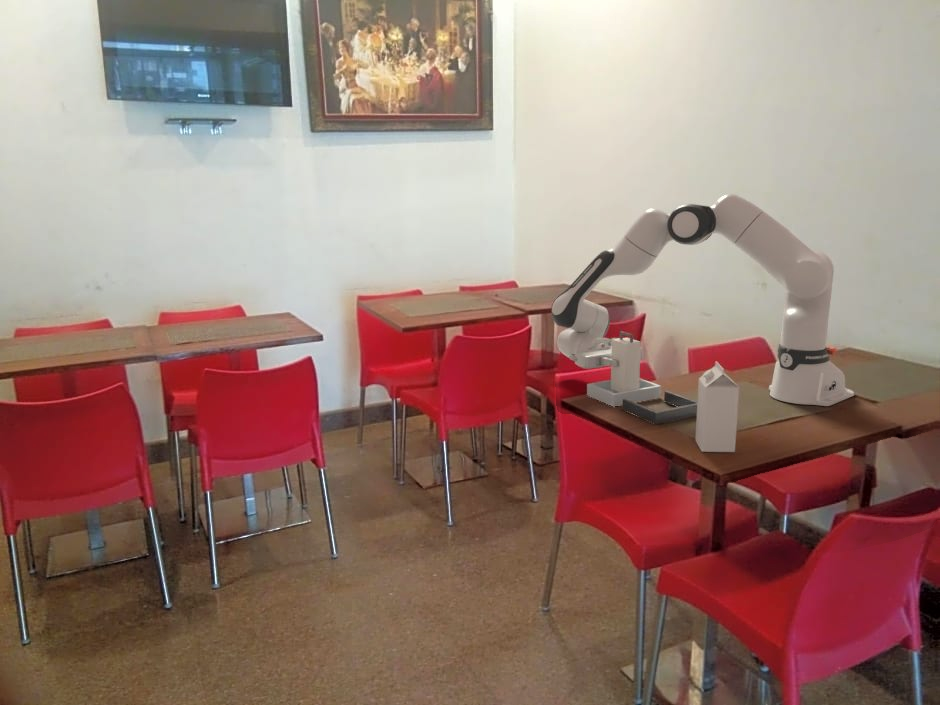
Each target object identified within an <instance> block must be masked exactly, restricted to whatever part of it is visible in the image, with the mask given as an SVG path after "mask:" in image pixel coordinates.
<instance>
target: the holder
mask: <svg viewBox="0 0 940 705" xmlns="http://www.w3.org/2000/svg"><path fill="white" fill-rule="evenodd" d="M663 398H664V399H663V402H664V401H666V402H669V403H671V404H674V405H676V406H678V407H676V406H674V407H671V408H666V409H663V410H661V409H660V410H654V409H652V408H649V407H647V406H645V405H643V404H640V403H635V402H632V401H630V400H628V399H623V403H622V406H621V407H622V409H623V410H625V411H628V412H630V413H633V414H635V415H637V416H639V417H641V418H643V419H646V420H648V421H650V422H652V423H651V424H653V423H654V424H653V425H655V424H657V425H661V423H662V424H666V423H671V422H675V421H679V419H680V420H683V419H684V418H685V419H689V418H694V417H697V402H698V400H694V399H691V398H690V397H685V396H683V395H680V394H677V393H675V392H672V391H669V390H664V397H663ZM666 402H665V403H666ZM671 404H670V405H671ZM622 409H621V410H622ZM623 410H622V411H623ZM625 411H624V412H625ZM630 413H629V414H630ZM637 416H636V417H637ZM693 416H694V417H693ZM639 417H638V418H639ZM688 417H689V418H688ZM641 418H640V419H641ZM643 419H642V420H643ZM646 420H645V421H646ZM674 420H675V421H674ZM648 421H647V422H648ZM670 421H671V422H670ZM650 422H649V423H650Z"/></svg>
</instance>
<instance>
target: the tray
mask: <svg viewBox="0 0 940 705" xmlns="http://www.w3.org/2000/svg"><path fill="white" fill-rule="evenodd" d="M587 395H588V396H590V397H589V398H591V397H593V398H595V399H597V400H600V401H602V402H604V403H606V404H605V405H607V404H608V405H607V406H609V405H611V406H613V407H612V408H616V407H615V406H619V405H622V403H623V399H628V400H630V401H632V402H638V401H643V400H649V399H654V398H660V397H661V398H662V385H660V384H657V383H656V382H655V383H654V382H652V381H648V380H646V379H643V378H641V377H640V379H639V389H635V390H630V391H625V392H617V391H615V390H612V389H611V379H608V380H602V381H597V382H595V381H594V382H591V383H587V384H586V396H587ZM588 396H587V397H588ZM593 398H592V399H593ZM661 398H660V399H661ZM595 399H594V400H595ZM597 400H596V401H597ZM600 401H599V402H600ZM649 401H650V400H649ZM602 402H601V403H602ZM604 403H603V404H604ZM611 406H610V407H611ZM619 407H620V406H619Z"/></svg>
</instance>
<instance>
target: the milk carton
mask: <svg viewBox="0 0 940 705" xmlns="http://www.w3.org/2000/svg"><path fill="white" fill-rule="evenodd" d="M697 384H698V387H697V388H698V389H697V416H696V423H695V425H696V426H695V443H696V444H697V446H698V448H699V449H700V451H701V452H702V453H704V452H705V453H735V452H736V443H737V442H736V440H737V429H738V428H737V427H738V411H739V409H738V408H739V397H740V387H739V385H738V384H737V383H736V382H735V381H734V380H733V379H732V377H731V376H729V375H728V374H726V372H725V369H724V367H723V366H721V364H720V363H719V362H718V361H717V360H716V361H715V362H714V365H713V367H711V368H710V369H708V370H706V371H704V372H703V374H702V375H701V376H700V377H699V378H698V383H697Z"/></svg>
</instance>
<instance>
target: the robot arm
mask: <svg viewBox="0 0 940 705" xmlns="http://www.w3.org/2000/svg"><path fill="white" fill-rule="evenodd" d="M713 234H719V235H721V236H723V237H724V238H725V239H727V240H728V241H730V242H731V243H732V244H734V245H735V246H736V247H737V248H739V249H740V250H741V251H742V252H744V254H746V255H747V256H748V257H750V258H751V259H752V260H754V261H755V262H756V263H758V264H759V265H760V266H761V267H762V269H764V270H765V271H766V272H767V273H768V274H770V276H771V277H772V278H773V279H775V280H776V281H777V283H779V284H780V286H782V287H784V288H785V297H784V304H783V312H782V318H781V319H782V320H781V332H780V333H781V334H780V343H779V344H778V348H777V358H778V360H777V361H776V362H775V364H774V371H773V376H772V380H771V381H772V382H771V384H769V386H768V391H770V392H769V396H770V397H772V398H773V399H775V400H778V401H781V402H783V403H784V402H786V403H791V404H796V405H814V406H821V407H822V406H823V407H829V406H832V405H834V404H837V403H839V402H842V401H844V400H847V399H849V398H851V397H854V396H855V392H854V391H853V390H852V389H849V388H847V387H846V377H845V376H846V375H845V374H844V372H843V370H841V369H840V368H838V366H836V365H835V364H834V363H833V362H832V361H830V359H831V358H830V355H832V356H835V355H836V354H837V351H838V349H837V348H836V347H831V346H828V347H827V340H828V339H827V338H828V337H827V336H828V326H829V317H830V309H831V308H830V307H831V300H832V299H831V298H832V291H833V290H832V289H833V281H834V280H833V279H834V264H833V261H832V259H830V257H829V256H828V255H827V254H826V253H824V252H823V251H819V250H815V249H814V250H813V249H811V248H810V247H809V246H807V245H806V244H805V243H804V242H803V241H801V240H800V239H799V238H798V237H797V236H796V235H794V234H793V233H792V232H791V231H790V230H789V229H788V228H787V227H785V226H784V225H783V224H782V223H780V222H779V221H777V220H776V219H775V218H773V217H772V216H771V215H769V214H768V213H767V212H766V211H764V210H763V209H761V208H760V207H759V206H757V205H755V204H754V203H753V202H751V201H749V200H747V199H746V198H743V197H742V196H740V195H737V194H736V193H735V194H734V193H727V194H724V195H723V196H721V197H719V198H718V199H717V200H716V201H715V202H714V203H713V204H711V206H708V205H701V204H697V203H686V204H682V205H680V206H677V207H676V208H675V209H673V211H671V213H667V212H665V211H664V210H661V209H658V208H649V209H647V210H645V211H644V212H642V213H641V214H640V216H639V217H638V218H637V219H636V220H635V221H634V222H633V224H631V225H630V227H629V229H628V230H627V231H626V233H625V235H624V236H623V237H622V238H621V239H620V240H619V242H617V243H616V244H615V245H613V246H612V247H611V248H609V249H606V250H603V251H601V252H600V253H598V255H597V256H596V257H594V259H592V261H591V262H590V263H589V264H588V265H587V266H586V268H585V269H584V270H583V271H582V272H581V273H580V274H579V275H578V277H576V279H574V281H573V282H572V283H571V284H570V285H569V287H567V288H565V290H564V291H563V292H561V294H559V295H558V296H557V297H556V298H555V299H554V300H553V302H552V305H551V307H550V312H551V317H552V319H553V322H554V323H555V325H556V326H559V327H562V328H565V329H564V330H562V331H561V332H560V333H559V335H558V336H557V340H556V344H557V348H558V349H559V350H558V351H560V352H561V354H562V355H563V356H565V357H566V358H569V360H571V361H574V364H575V365H577V367H580V368H582V369H584V370H585V369H586V370H590V369H599V368H603V367H611V366H612V367H617V366H619V360H616V359H611V357H612V340H613V339H620V337H605V336H606V335H607V333H608V331H609V328H610V323H611V318H610V312H609V310H608V309H607V307H605V306H602V305H600V304H599V303H596V302H592V301H590V300H587V299H585V298H587V296H588V295H589V294H590V293H591V292H592V291H593V290H594V288H596V286H597V285H598V284H599V283H600V282H601V281H603V280H604V279H606V278H608V277H614V276H636V275H640V274H642V273H644V272H646V271H647V270H648V269H649V268H650V267H651V266H652V265H653V263H654V262H655V261H656V259H657V258H658V256H659V255H660V253H662V251H663V249H664V248H665V247H666V245H667V244H669V242H671V241H675V242H676V243H678V244H680V245H687V246H694V245H698V244H700V243H703V242H705V241H707V240H708V239H709V238H710V237H711V236H712V235H713ZM643 356H644V349H643V347H642V346H641V352H640V361H642V360H643Z"/></svg>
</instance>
